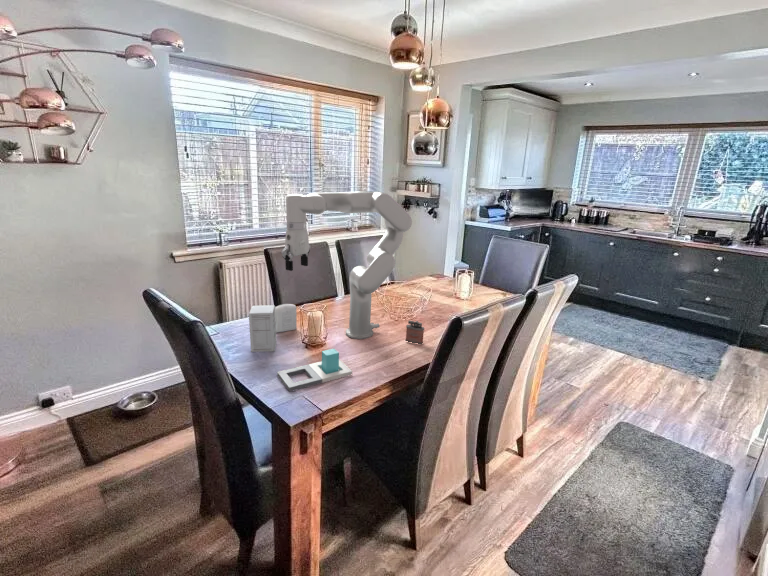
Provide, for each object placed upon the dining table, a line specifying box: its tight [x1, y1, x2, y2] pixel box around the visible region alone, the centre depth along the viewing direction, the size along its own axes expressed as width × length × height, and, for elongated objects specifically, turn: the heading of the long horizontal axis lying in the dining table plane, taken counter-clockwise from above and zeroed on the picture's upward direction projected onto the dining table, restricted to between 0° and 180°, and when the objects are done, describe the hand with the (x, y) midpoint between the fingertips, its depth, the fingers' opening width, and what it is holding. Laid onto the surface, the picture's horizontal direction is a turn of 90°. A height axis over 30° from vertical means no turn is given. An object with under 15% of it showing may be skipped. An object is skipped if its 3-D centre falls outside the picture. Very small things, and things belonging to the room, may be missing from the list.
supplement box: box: [248, 304, 277, 353], centre depth 161 cm, size 10×9×17 cm
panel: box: [276, 359, 353, 392], centre depth 144 cm, size 24×12×2 cm, turn 123°
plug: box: [321, 348, 340, 374], centre depth 146 cm, size 5×4×8 cm
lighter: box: [404, 319, 425, 344], centre depth 174 cm, size 8×3×10 cm, turn 71°
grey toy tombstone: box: [275, 303, 297, 333], centre depth 180 cm, size 10×4×12 cm, turn 123°
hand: (297, 267), depth 162 cm, fingers open, 9 cm apart
